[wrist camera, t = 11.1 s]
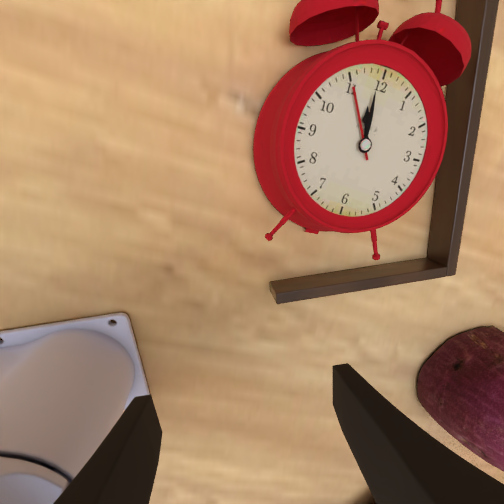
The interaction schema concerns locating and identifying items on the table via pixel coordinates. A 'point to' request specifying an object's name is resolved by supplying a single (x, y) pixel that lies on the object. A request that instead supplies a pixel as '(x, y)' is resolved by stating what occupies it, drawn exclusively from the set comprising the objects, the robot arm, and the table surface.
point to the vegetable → (468, 391)
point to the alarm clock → (357, 118)
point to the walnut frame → (447, 182)
